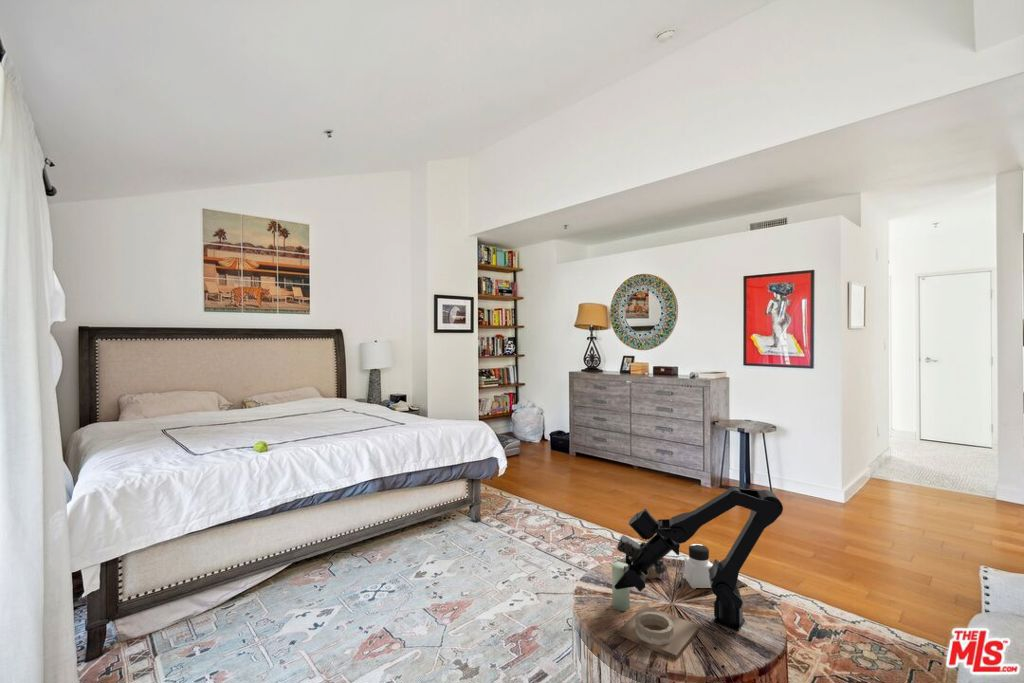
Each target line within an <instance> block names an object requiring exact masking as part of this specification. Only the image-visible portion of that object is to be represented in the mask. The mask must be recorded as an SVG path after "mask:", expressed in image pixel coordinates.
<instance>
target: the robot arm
mask: <svg viewBox="0 0 1024 683" xmlns="http://www.w3.org/2000/svg"><path fill="white" fill-rule="evenodd" d="M736 506H737V507H742V508H744V509H748V510H750V512H749V517H748V519H747V521H746V523H745V524H744V526H743V528H742V529H741V531H740V532H739V533H738V535H737V538H736V539H735V541H734V543H733V544H732V545H731V547H730V549H729V551H728V552H727V555H726V556H725V557H724V559H722V560H720V561H719V560H718V559H716V558H715V559H714V561H713V563H712V565H713V566H712V567H711V568H710V569H708V570H709V580H710V584H711V589H710V590H711V592H712V593H713V595H714V596H715V600H714V601H713V616H714V617H715V618H714V620H713V623H715V624H717V625H720V626H723V627H726V628H729V629H732V630H734V631H738V632H739V631H740V630H741V628H742V627H743V625H744V623H745V622H746V620H745V618H744V614H743V611H744V610H743V609H744V608H743V607H744V606H743V604H744V601H743V598H742V595H741V593H740V589H739V586H738V585H737V584H738V579H739V574H740V570H741V569H742V568H743V566H744V564H745V562H746V560H747V559H748V557H749V556H750V554H751V553H752V551H753V549H754V547H755V546H756V544H757V543H758V541H759V539H760V537H761V535H762V534H763V532H764V531H765V529H766V528H767V527H770V526H771V525H772V524H774V523H775V522H776V521H777V519H778V518H780V516H781V515H782V514H783V511H784V507H783V503H782V502H781V500H780V499H779V497H778V496H777V495H776V494H775V493H774V492H773V491H771V490H768V489H761V490H755V489H749V488H740V487H735V486H732V487H731V486H730V487H728V488H727V490H725V491H723V492H722V493H721V494H719V495H717V496H715V497H713V498H712V499H710V500H709V501H707V502H705V503H703V504H702V505H701V506H698V507H697V508H695V509H694V510H691V511H688V512H682V513H679V514H677V515H674V516H671V517H670V518H665V519H663V518H662V519H661V518H660V519H656V518H655V517H653V515H652V514H651V513H650V512H649V510H647V508H644V509H643V510H640V511H639V512H637V513H635V514H634V515H633V516H632V517H631V518H630V519H629V521H628V525H629V527H630V528H631V529H633V531H634V532H635V533H636V534H637V535H638V536H639V537H640V538H641V539H642V540H645V541H642V542H641V543H638V542H636V541H635V540H633V539H632V538H630V537H627V536H626V535H621V537H620V538H619V540H618V543H617V547H616V549H617V551H618V552H619V553H623V554H625V562H624V563H626V564H628V566H627V567H625V566H624V574H623V575H622V577H621V578H620V579H619V580H618V582H617V583H616V584H615V586H614V587H615V589H623V588H629V589H630V588H634V587H635V588H636V590H637V591H638V592H642V591H643V590H644V589H646V579H645V576H644V575H643V574H642V573H641V572H643V573H644V574H645V575H647V574H648V572H649V569H650V568H651V567H653V566H654V565H655V566H657V565H659V561H660V560H661V561H662V559H663V558H664V557H665V556H667V555H668V554H669V553H671V551H673V552H674V554H676V555H677V556H679V555H680V547H681V544H685V543H687V542H688V541H689V540H690V539H691V538H692V537H693V536H694V535H695V534H696V533H697V531H698V530H699V529H700V528H702V527H703V526H704V525H706V524H707V523H709V522H711V521H713V520H714V519H716V518H718V517H719V516H721V515H723V514H725V513H726V512H728V511H730V510H731V509H733V508H735V507H736ZM647 540H648V541H647Z"/></svg>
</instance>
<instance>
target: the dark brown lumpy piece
mask: <svg viewBox="0 0 1024 683" xmlns="http://www.w3.org/2000/svg"><path fill="white" fill-rule="evenodd" d="M668 567H669V566H668V565H666V564H665V563H664V561H663V560H662V559H661V560H660V561H659V565H657V566H655V565H654V566H653V567H651V568H650V569H649V572H648V574H647V575H645V574H644V573H643V572H641V573H642V574H643V575H644V576H645V580H653V579H656V578H659V576H660V574H661V575H662V574H664V573H665V572H666V571H667V568H668Z"/></svg>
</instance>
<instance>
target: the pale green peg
mask: <svg viewBox="0 0 1024 683" xmlns="http://www.w3.org/2000/svg"><path fill="white" fill-rule="evenodd" d="M624 566H625V567H627V566H628V564H626V563H625V562H622V561H615V562H613V563H612V564H611V582H612V584H611V589H612V590H611V591H612V595H611V596H612V599H611V602H612V607H613V609H615V611H620V612H626V610H627V611H629V610H630V607H631V602H630V598H631V597H630V594H631V593H630V587H629V588H623V589H615V587H614V586H615V584H616V583H617V582H618V580H619V579H620V578H621V577H622V575H623V574H624ZM628 609H629V610H628Z"/></svg>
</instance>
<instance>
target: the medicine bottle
mask: <svg viewBox="0 0 1024 683" xmlns="http://www.w3.org/2000/svg"><path fill="white" fill-rule="evenodd" d="M709 550H710V549H709V548H708V547H707V546H706V545H704V544H698V543H692V544H691V545H689V546H688V556H684V579H685V580H686V582H687V583H688V584H689V586H690V588H691V589H692V588H693V589H694V590H697V589H696V588H711V584H710V580H709V570H708V569H710V568H711V567H712V566H713V563H712V562H710V551H709ZM693 589H692V590H693Z"/></svg>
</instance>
